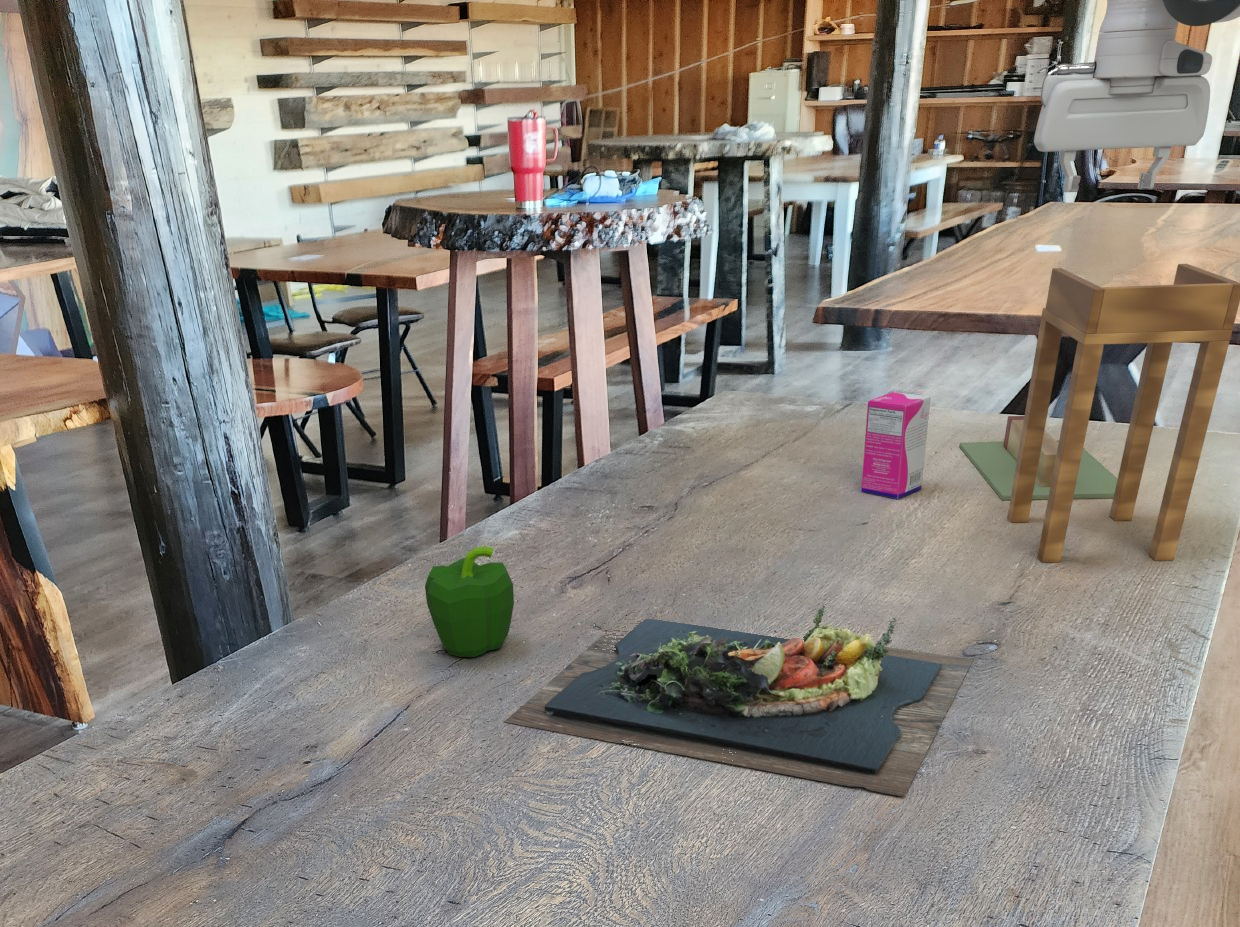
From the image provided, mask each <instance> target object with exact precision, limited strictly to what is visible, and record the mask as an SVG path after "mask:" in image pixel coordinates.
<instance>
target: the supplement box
mask: <svg viewBox="0 0 1240 927" xmlns="http://www.w3.org/2000/svg"><path fill="white" fill-rule="evenodd" d="M931 398H932V397H931V396H930V395H925V394H924V395H922V394H913V393H912V394H911V393H904V392H898V391H891V392H889V393H887V394H883V395H881V396H877V397H875V398H872V399H870V400H868V401H867V407H866V408H867V409H866V423H865V425H866V426H865V435H864V438H865V439H864V449H863V450H864V451H863V452H864V453H863V462H862V476H861V477H862V478H861V489H860V492H862V493H865V494H870V495H874V494H875V495H876V496H880V497H886V498H890V499H894V500H900V499H902V498H904V497H906V496H909V495H911V494H913V493H916V492H918V491H921V490H922V489H923V477H924V476H923V475H924V467H925V456H926V447H927V437H928V428H929V418H930V417H929V416H930V407H931Z"/></svg>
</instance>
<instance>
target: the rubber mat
mask: <svg viewBox="0 0 1240 927" xmlns="http://www.w3.org/2000/svg"><path fill="white" fill-rule="evenodd" d="M1055 440H1056V441H1057V442H1058V443H1059V439H1055ZM1003 444H1004V441H974V442H973V441H971V442H970V441H969V442H967V441H966V442H959V449H960V450H961V451H962V452H963V453H964V455H965V456H966V457H967V458H968V460H970V462H971V463H972V464H973V466H974V467H975V468H976V469H977V471H978V472H979V473H980V475H981V476H982V477H983V478H984V479H985V481H986V482H987V484H988V485H989V486H990V488H992V490H993V491H994V492H995V494H996V495H997V496H998V497H999V498H1000V499H1001V501H1010V498H1011V492H1012V487H1013V481H1014V475H1015V469H1016V463H1017V460H1016V459H1015V458H1014V457H1013V456H1012V455H1011V454H1010V452H1009V451H1008V450H1006V449H1005V448H1004V447H1003ZM1117 479H1118V477H1117V476H1115V475H1114V474H1113V473H1112V472H1111V471H1110V470H1109V469H1107V467H1106V466H1104V465H1103V464H1102V463H1101V462H1100V461H1099V460H1098V459H1096V457H1094V456H1093V455H1092V454H1091V453H1090V452H1088V451H1087V449H1085V448H1084V447H1083V452H1082V457H1081V462H1080V467H1079V472H1078V477H1077V482H1076V487H1075V492H1074V497H1073V500H1078V499H1079V500H1082V499H1084V500H1085V499H1113V498H1114V493H1115V488H1116V484H1117ZM1049 492H1050V487H1040V486H1039V485H1038V484H1037V483H1036V482H1035V486H1034V491H1033V497H1032V501H1033V500H1034V501H1035V500H1048V497H1049Z"/></svg>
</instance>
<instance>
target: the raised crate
mask: <svg viewBox="0 0 1240 927" xmlns="http://www.w3.org/2000/svg"><path fill="white" fill-rule="evenodd" d="M1049 280H1050V281H1049V286H1048V292H1047V297H1046V302H1045V303H1046V304H1045V307H1043V308H1042V311H1041V317H1040V323H1039V329H1038V335H1037V340H1036V346H1035V352H1034V356H1033V357H1034V358H1033V362H1032V369H1031V370H1032V371H1031V375H1030V380H1029V381H1030V383H1029V387H1028V393H1027V398H1026V404H1025V411H1024V415H1023V416H1024V422H1023V428H1022V434H1021V440H1020V445H1019V451H1018V457H1017V463H1016V469H1015V475H1014V481H1013V487H1012V492H1011V498H1010V500H1009V503H1008V504H1009V505H1008V509H1007V510H1008V511H1007V516H1006V517H1007V519H1008V520H1009V522H1010V523H1029V518H1030V513H1031V508H1032V501H1033V500H1032V497H1033V491H1034V486H1035V480H1036V475H1037V469H1038V464H1039V458H1040V453H1041V447H1042V442H1043V436H1044V431H1046V424H1047V420H1048V419H1047V418H1048V414H1049V409H1050V402H1051V396H1052V391H1053V387H1054V380H1055V375H1056V369H1057V363H1058V358H1059V352H1060V347H1061V341H1062V336H1063V333H1064V334H1066V335H1067V336H1069V337H1070V338H1073V339H1074V340H1075V341H1077V344H1076V349H1075V354H1074V359H1073V364H1072V365H1073V366H1072V371H1071V375H1070V380H1069V381H1070V382H1069V386H1068V392H1067V397H1066V402H1065V407H1064V413H1063V418H1062V424H1061V429H1060V434H1059V439H1058V440H1059V444H1058V449H1057V455H1056V460H1055V465H1054V471H1053V476H1052V481H1051V487H1050V492H1049V497H1048V499H1047V503H1046V508H1045V509H1046V510H1045V514H1044V519H1043V524H1042V530H1041V534H1040V540H1039V541H1040V542H1039V546H1038V551H1037V558H1038V559H1039V560H1040V562H1041V563H1061V561H1062V556H1063V551H1064V546H1065V541H1066V536H1067V531H1068V527H1069V526H1068V525H1069V521H1070V516H1071V511H1072V506H1073V505H1072V504H1073V501H1074V499H1073V497H1074V492H1075V487H1076V482H1077V477H1078V472H1079V467H1080V462H1081V457H1082V452H1083V448H1084V447H1085V441H1086V437H1087V436H1086V435H1087V432H1088V427H1089V421H1090V416H1091V411H1092V406H1093V403H1094V402H1093V401H1094V397H1095V391H1096V386H1097V381H1098V376H1099V371H1100V366H1101V362H1102V356H1103V351H1104V346H1105V345H1127V344H1131V345H1132V344H1146V347H1145V351H1144V352H1145V353H1144V356H1143V362H1142V366H1141V371H1140V375H1139V380H1138V384H1137V388H1136V393H1135V398H1134V403H1133V407H1132V411H1131V416H1130V421H1129V425H1128V430H1127V433H1126V434H1127V435H1126V439H1125V442H1124V447H1123V453H1122V456H1121V461H1120V466H1119V470H1118V475H1117V478H1118V479H1117V484H1116V488H1115V493H1114V498H1112V502H1111V507H1110V512H1109V517H1110V518H1111V519H1112V520H1113V521H1116V522H1117V521H1122V522H1123V521H1132V520H1133V516H1134V513H1135V512H1134V511H1135V508H1136V502H1137V498H1138V494H1139V490H1140V486H1141V481H1142V477H1143V472H1144V469H1145V464H1146V460H1147V455H1148V451H1149V446H1150V443H1151V438H1152V434H1153V431H1154V430H1153V429H1154V425H1155V421H1156V417H1157V412H1158V408H1159V404H1160V399H1161V394H1162V390H1163V387H1164V382H1165V376H1166V372H1167V370H1168V364H1169V360H1170V355H1171V352H1172V347H1173V343H1193V342H1195V343H1196V342H1200V343H1199V347H1198V352H1197V356H1196V360H1195V364H1194V367H1193V372H1192V376H1191V379H1190V384H1189V389H1188V392H1187V398H1186V400H1185V404H1184V409H1183V413H1182V417H1181V422H1180V426H1179V429H1178V434H1177V438H1176V442H1175V446H1174V450H1173V453H1172V454H1173V455H1172V458H1171V461H1170V462H1171V463H1170V466H1169V470H1168V474H1167V479H1166V482H1165V487H1164V491H1163V495H1162V500H1161V504H1160V508H1159V511H1158V516H1157V520H1156V524H1155V528H1154V532H1153V536H1152V540H1151V544H1150V548H1149V552H1148V555H1149V556H1150V557H1151V558H1152V560H1154V561H1174V559H1175V556H1176V553H1177V548H1178V544H1179V541H1180V536H1181V533H1182V530H1183V525H1184V521H1185V517H1186V515H1187V514H1186V513H1187V510H1188V505H1189V501H1190V497H1191V494H1192V490H1193V486H1194V482H1195V478H1196V474H1197V470H1198V467H1199V462H1200V459H1201V455H1202V451H1203V447H1204V443H1205V439H1206V435H1207V431H1208V428H1209V424H1210V419H1211V415H1212V413H1213V412H1212V411H1213V407H1214V404H1215V400H1216V397H1217V392H1218V388H1219V384H1220V380H1221V377H1222V372H1223V369H1224V365H1225V360H1226V358H1227V353H1228V349H1229V345H1230V341H1231V338H1232V334H1233V329H1234V326H1235V322H1236V317H1237V314H1238V310H1239V307H1240V281H1236V280H1233V279H1230V278H1228V277H1225V276H1223V275H1220V274H1216V273H1214V272H1212V271H1208V270H1206V269H1203V268H1200V267H1197V266H1194V265H1191V264H1189V263H1178V264H1177V267H1176V271H1175V276H1174V279H1173V284H1159V285H1158V284H1157V285H1156V284H1155V285H1154V284H1153V285H1127V286H1125V285H1124V286H1099V285H1098V284H1096V283H1093V282H1091V281H1089V280H1087V279H1085V278H1083V277H1081V276H1079V275H1076V274H1075V273H1073V272H1070V271H1068V270H1067V269H1064V268H1062V267H1054V268H1053V267H1052V269H1051V274H1050V279H1049Z"/></svg>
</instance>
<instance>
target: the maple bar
mask: <svg viewBox="0 0 1240 927" xmlns="http://www.w3.org/2000/svg"><path fill="white" fill-rule="evenodd" d="M1024 416H1025V415H1008V416H1007V420H1006V427H1005V433H1004V438H1003V442H1004V444H1003V447H1004V448H1005V449H1006V450H1008V451H1009V452H1010V454H1011V455H1012V456H1013V457H1014V458H1015V459H1016V460H1017V457H1018V451H1019V445H1020V440H1021V434H1022V428H1023V422H1024ZM1056 440H1057V439H1056V438H1054V437H1053V436H1052V435H1051V434H1049V432H1048V431H1047V430H1045V431H1044V436H1043V442H1042V447H1041V453H1040V458H1039V464H1038V469H1037V475H1036V480H1035V482H1036V483H1037V484H1038V485H1039V486H1040V487H1051V481H1052V476H1053V471H1054V465H1055V460H1056V455H1057V449H1058V444H1059V443H1058V442H1057V441H1056Z"/></svg>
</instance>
